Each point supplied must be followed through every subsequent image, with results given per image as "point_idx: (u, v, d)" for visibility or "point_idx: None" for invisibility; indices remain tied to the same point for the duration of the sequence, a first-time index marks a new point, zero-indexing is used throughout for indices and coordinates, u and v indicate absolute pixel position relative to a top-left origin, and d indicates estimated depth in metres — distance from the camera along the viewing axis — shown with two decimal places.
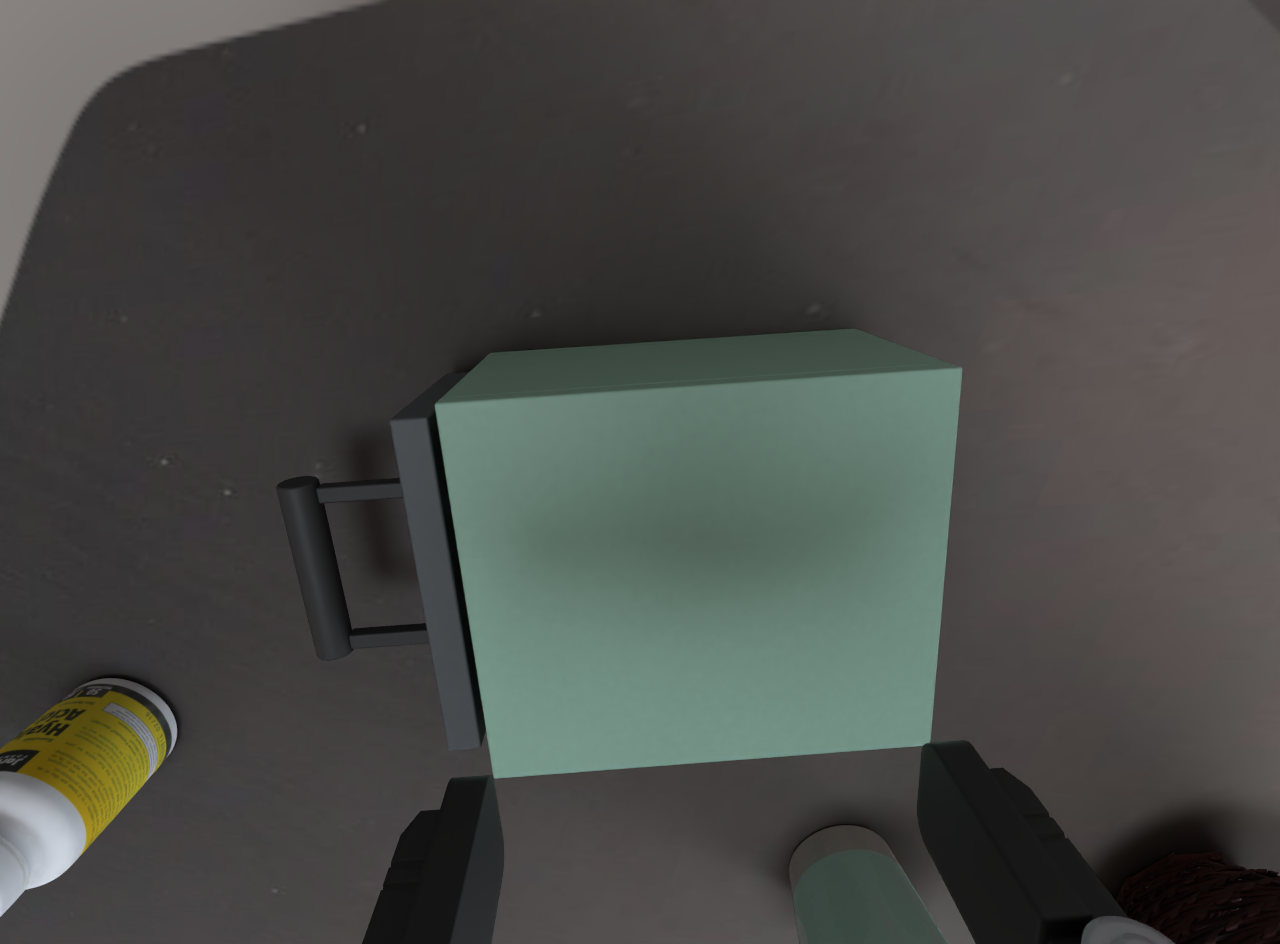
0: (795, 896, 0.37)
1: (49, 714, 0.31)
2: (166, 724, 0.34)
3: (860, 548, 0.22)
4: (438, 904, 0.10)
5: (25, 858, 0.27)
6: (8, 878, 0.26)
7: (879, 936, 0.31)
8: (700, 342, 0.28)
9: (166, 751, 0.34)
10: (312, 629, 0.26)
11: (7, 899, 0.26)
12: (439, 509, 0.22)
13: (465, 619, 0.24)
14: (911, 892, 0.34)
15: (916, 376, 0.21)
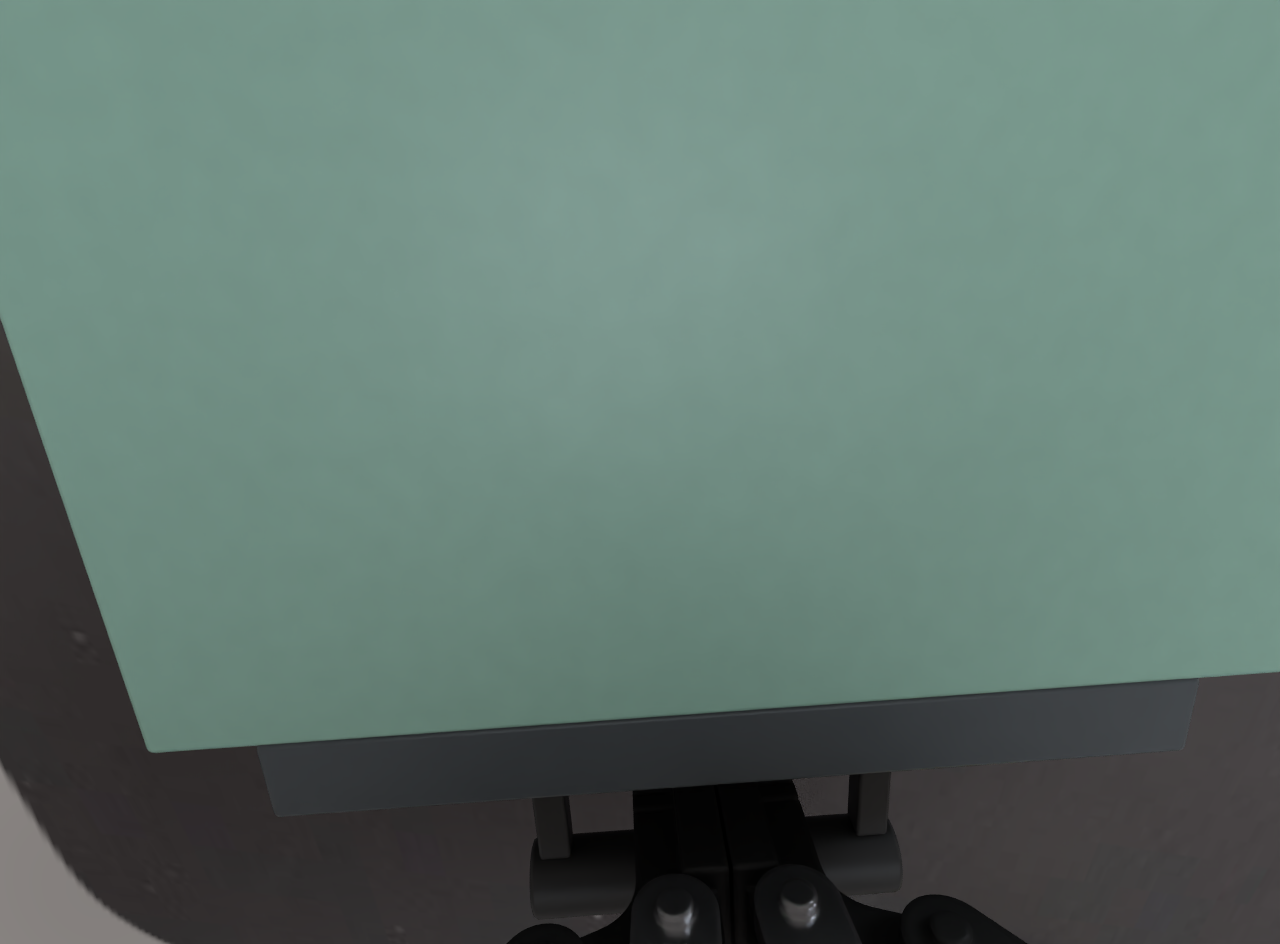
0: None
1: None
2: None
3: None
4: (701, 821, 0.11)
5: None
6: None
7: None
8: None
9: None
10: None
11: None
12: (489, 735, 0.09)
13: None
14: None
15: None
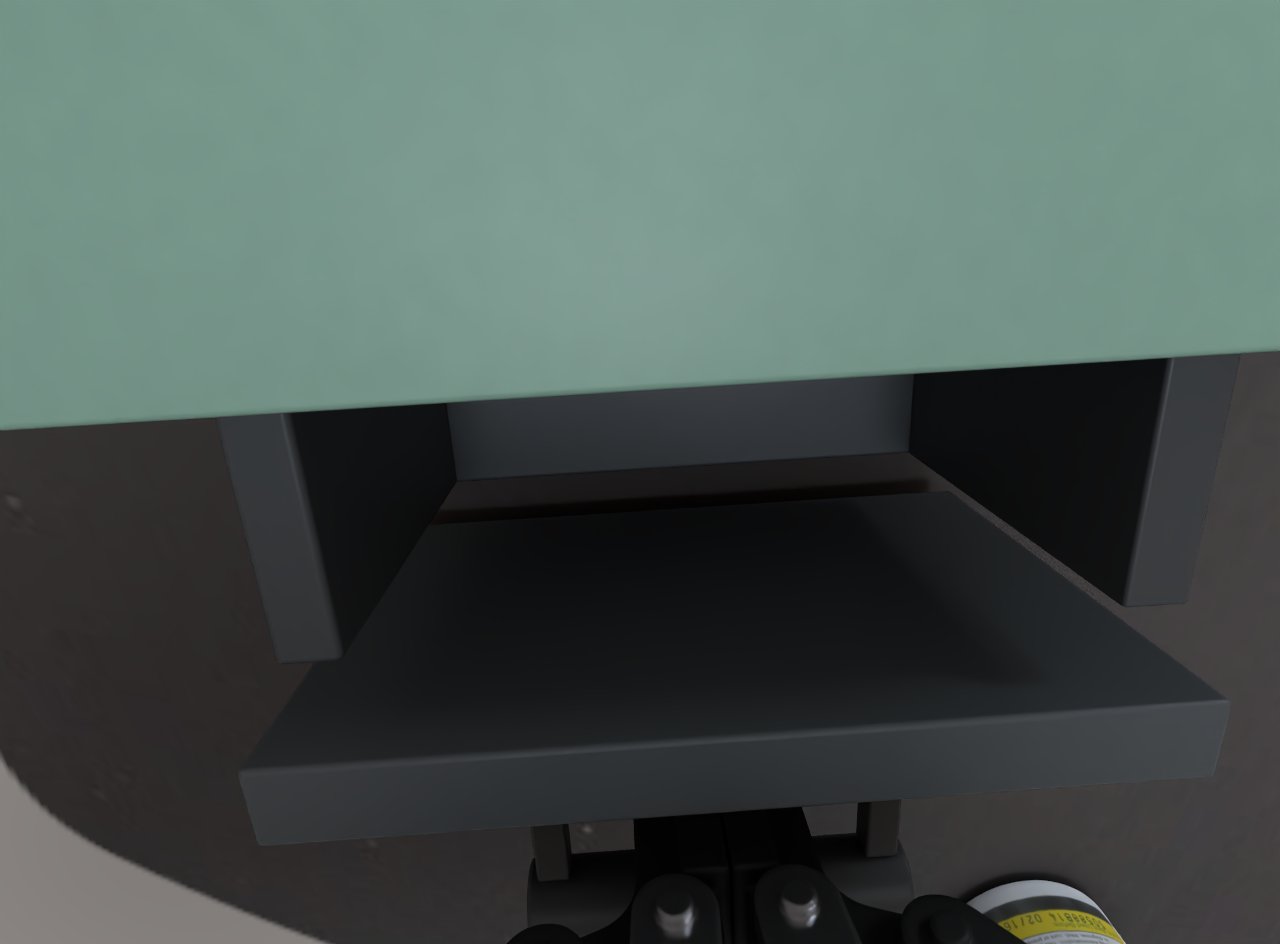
0: None
1: None
2: (1033, 900, 0.20)
3: None
4: (701, 821, 0.11)
5: None
6: None
7: None
8: None
9: (1083, 910, 0.20)
10: None
11: None
12: (482, 760, 0.09)
13: (824, 699, 0.09)
14: None
15: None
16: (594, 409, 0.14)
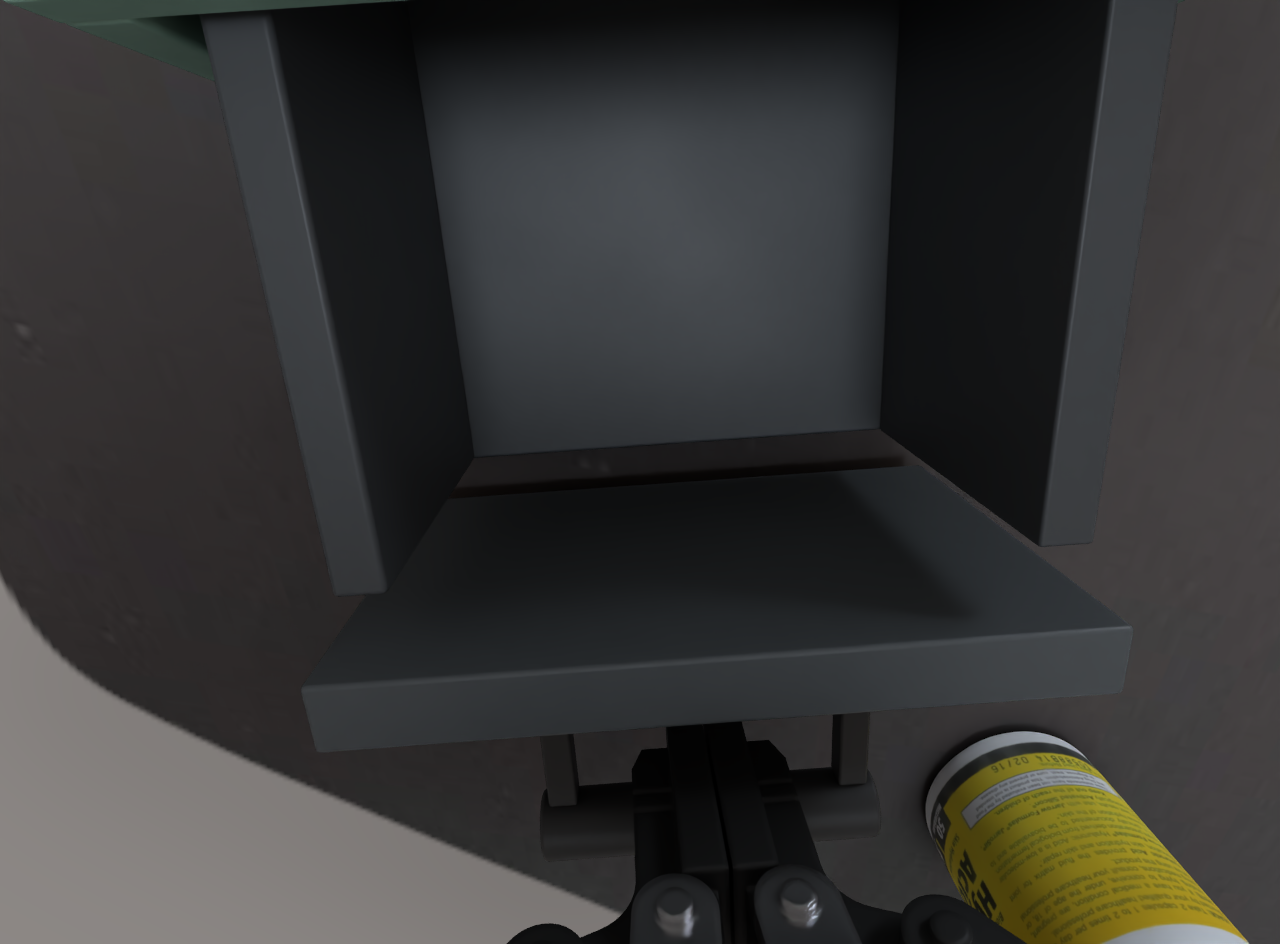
0: None
1: (962, 894, 0.20)
2: (1020, 746, 0.21)
3: None
4: (701, 821, 0.11)
5: None
6: None
7: None
8: None
9: (1070, 754, 0.20)
10: None
11: None
12: (504, 678, 0.10)
13: (791, 629, 0.11)
14: None
15: None
16: (596, 391, 0.16)
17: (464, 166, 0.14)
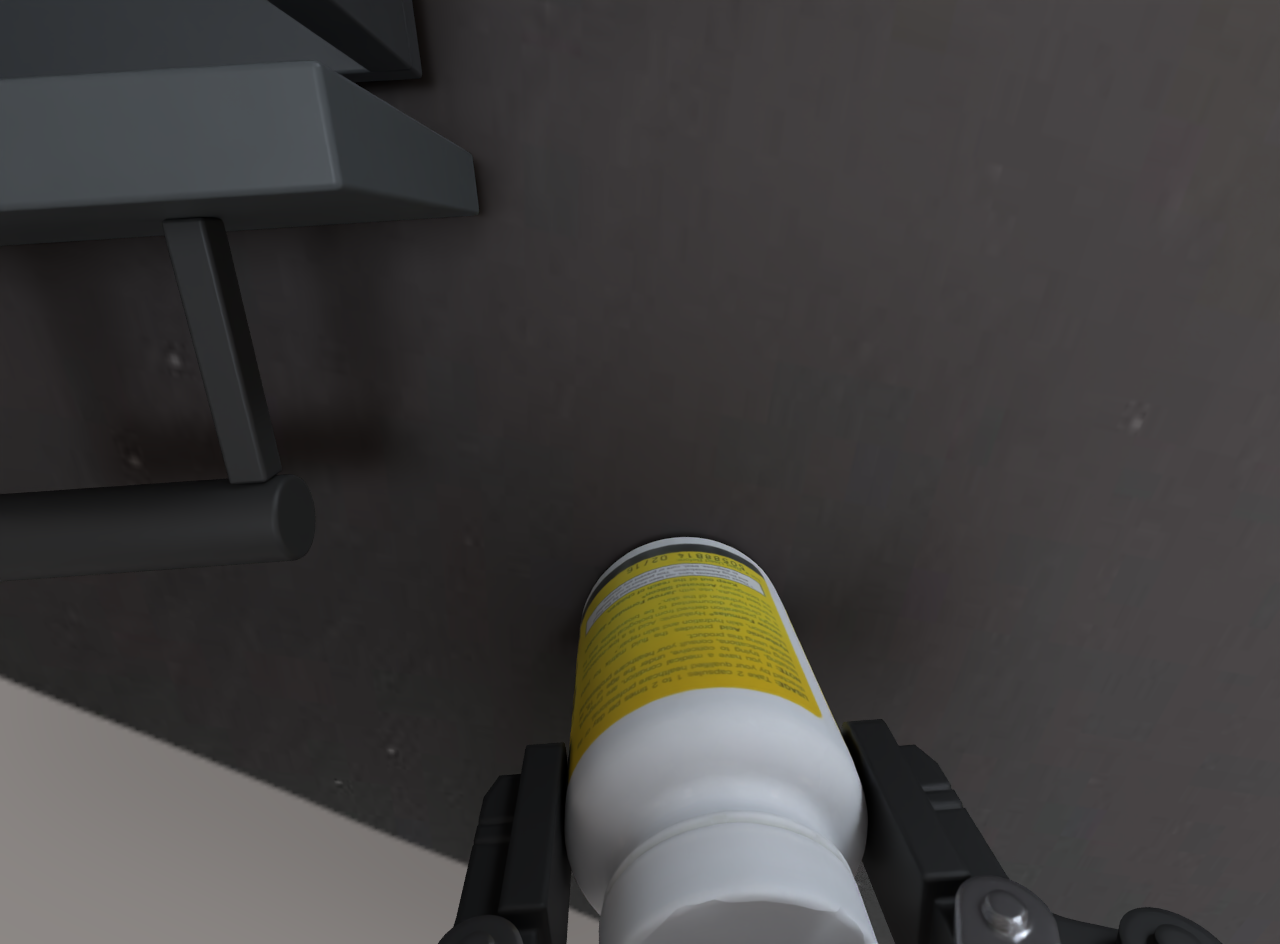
0: None
1: None
2: (669, 547, 0.17)
3: None
4: (532, 855, 0.11)
5: (722, 811, 0.10)
6: (728, 858, 0.09)
7: None
8: None
9: (725, 555, 0.17)
10: (203, 561, 0.11)
11: (788, 875, 0.09)
12: None
13: None
14: None
15: None
16: None
17: None
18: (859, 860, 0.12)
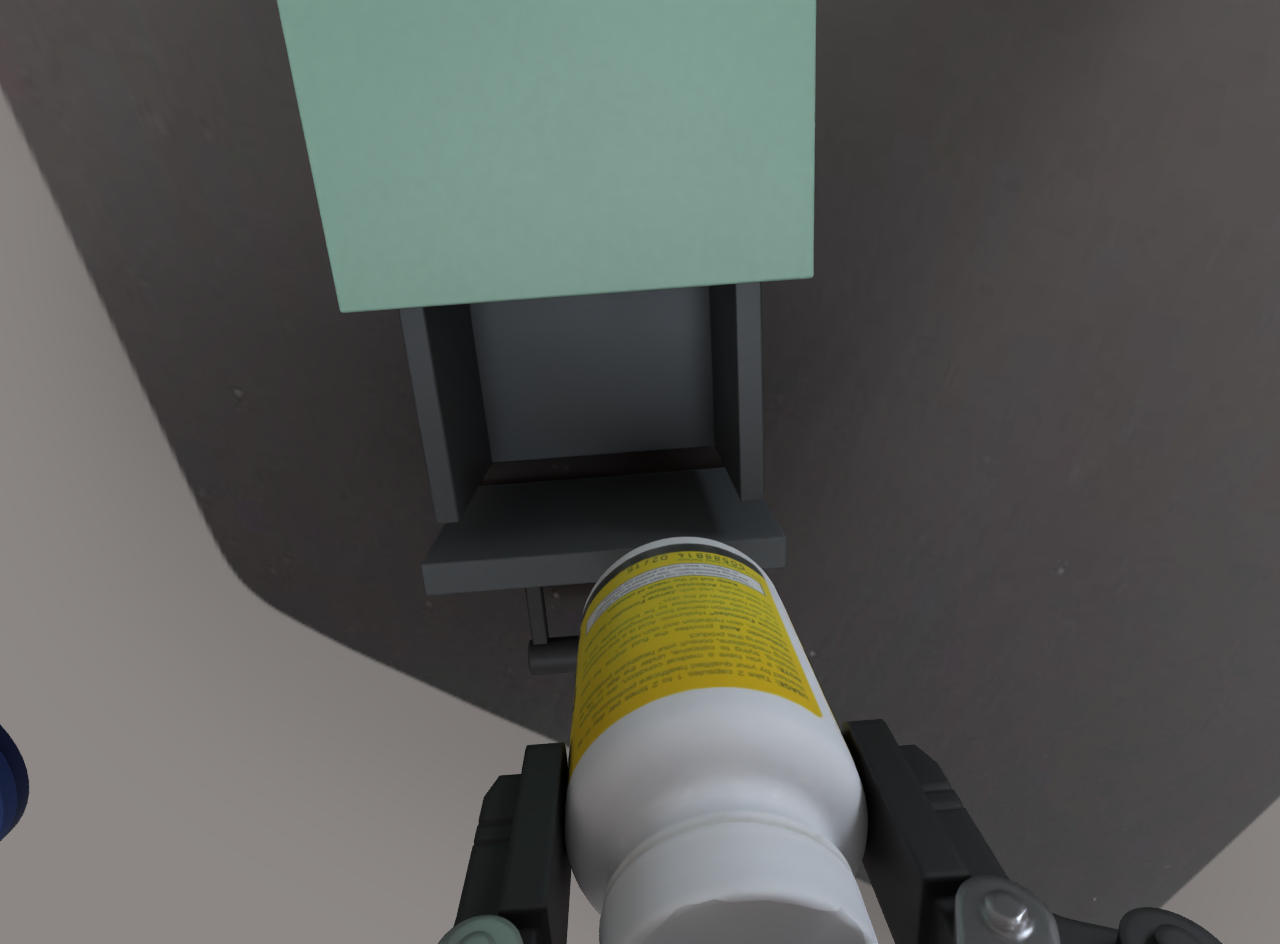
0: None
1: None
2: (669, 547, 0.17)
3: None
4: (532, 855, 0.11)
5: (722, 811, 0.10)
6: (729, 857, 0.09)
7: None
8: None
9: (725, 555, 0.17)
10: None
11: (789, 874, 0.09)
12: (509, 560, 0.23)
13: (638, 540, 0.24)
14: None
15: None
16: (558, 427, 0.29)
17: (487, 312, 0.27)
18: (859, 860, 0.12)
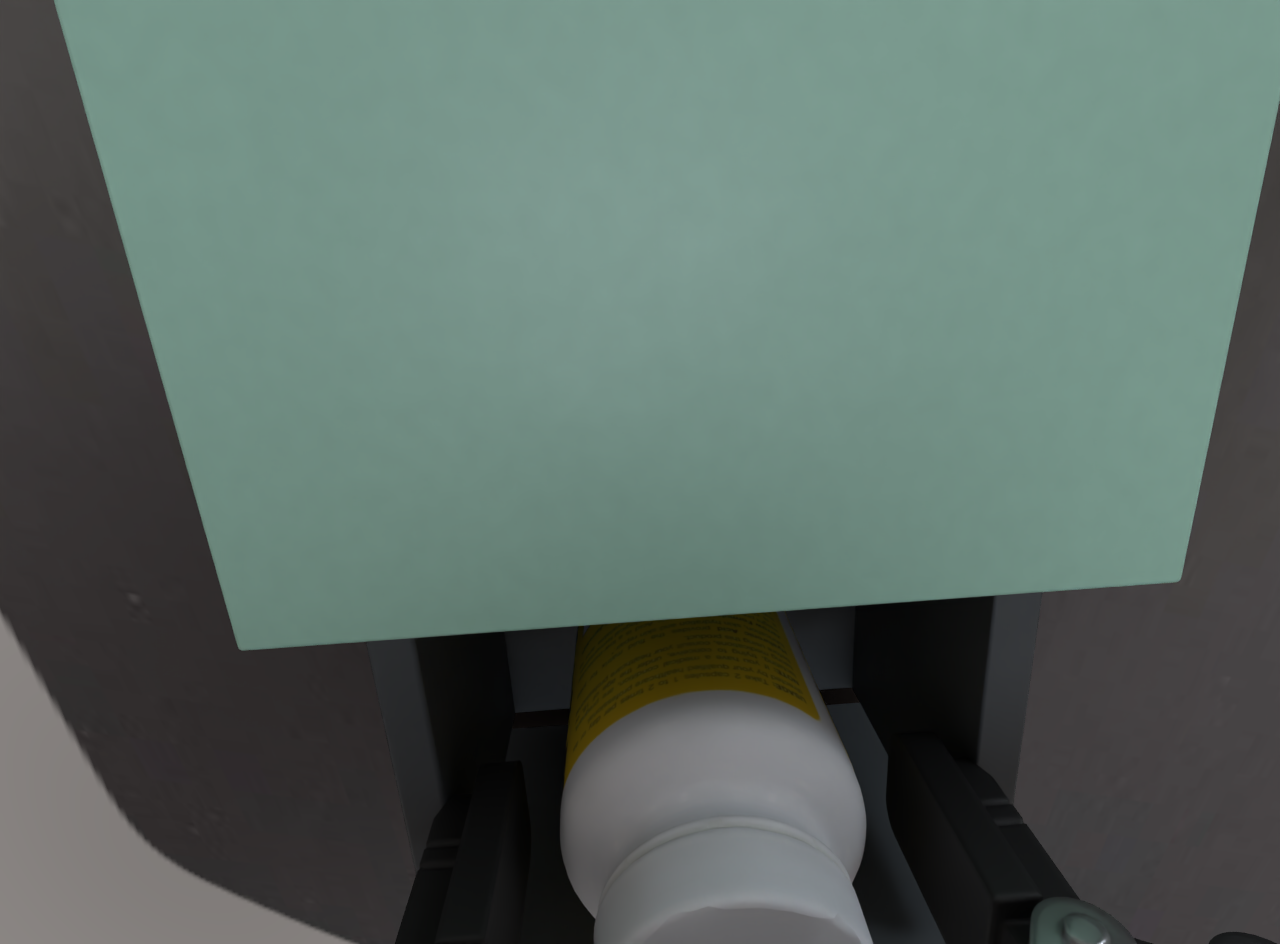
0: None
1: None
2: None
3: None
4: (475, 882, 0.10)
5: (718, 816, 0.10)
6: (724, 863, 0.09)
7: None
8: None
9: None
10: None
11: (784, 881, 0.09)
12: None
13: None
14: None
15: None
16: None
17: None
18: (858, 864, 0.12)
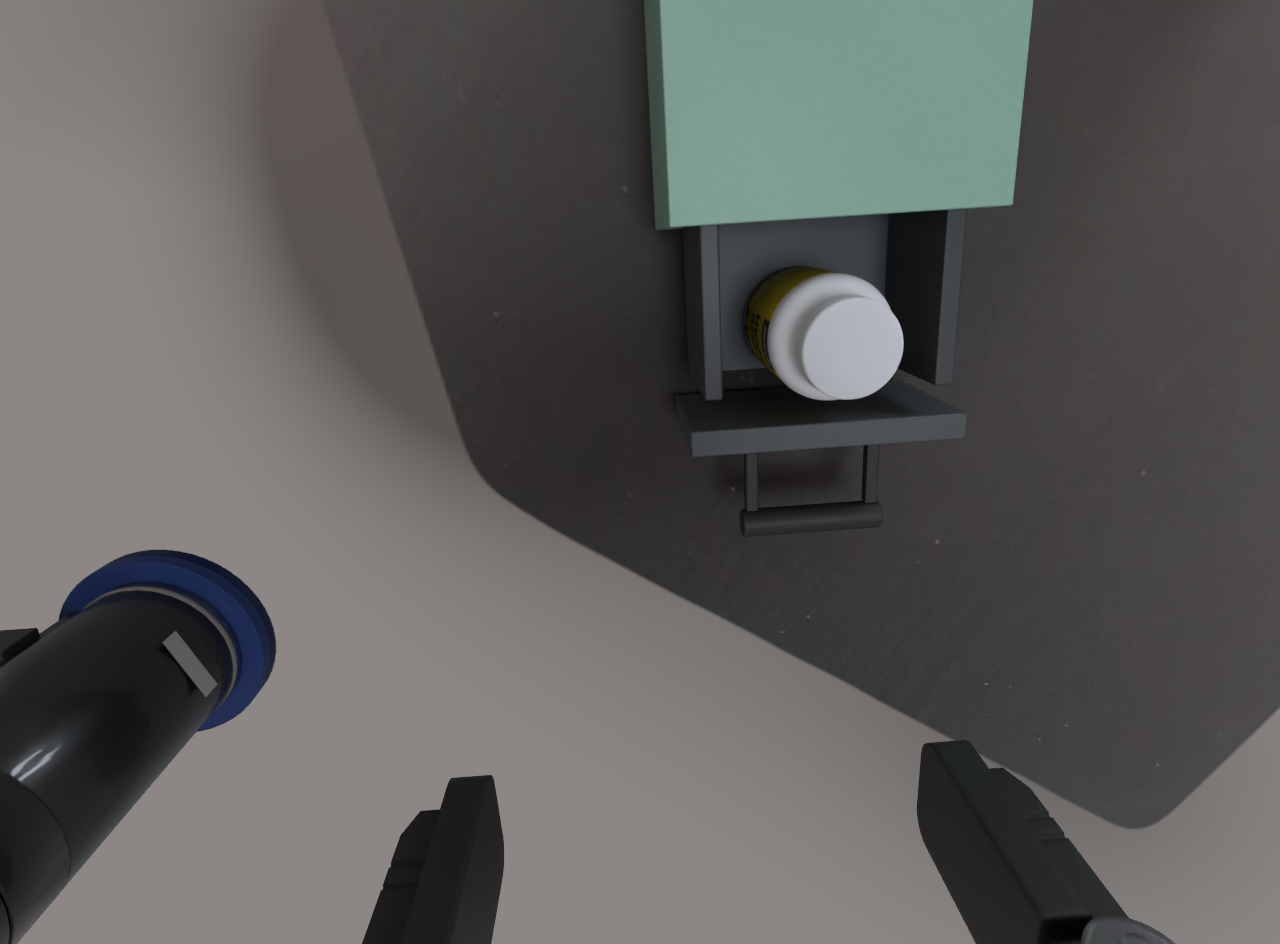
0: None
1: (753, 344, 0.34)
2: None
3: None
4: (438, 904, 0.10)
5: None
6: (848, 296, 0.27)
7: None
8: (646, 30, 0.33)
9: None
10: (855, 527, 0.35)
11: (870, 298, 0.27)
12: (758, 429, 0.31)
13: (852, 417, 0.32)
14: None
15: None
16: None
17: None
18: None
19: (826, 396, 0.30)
